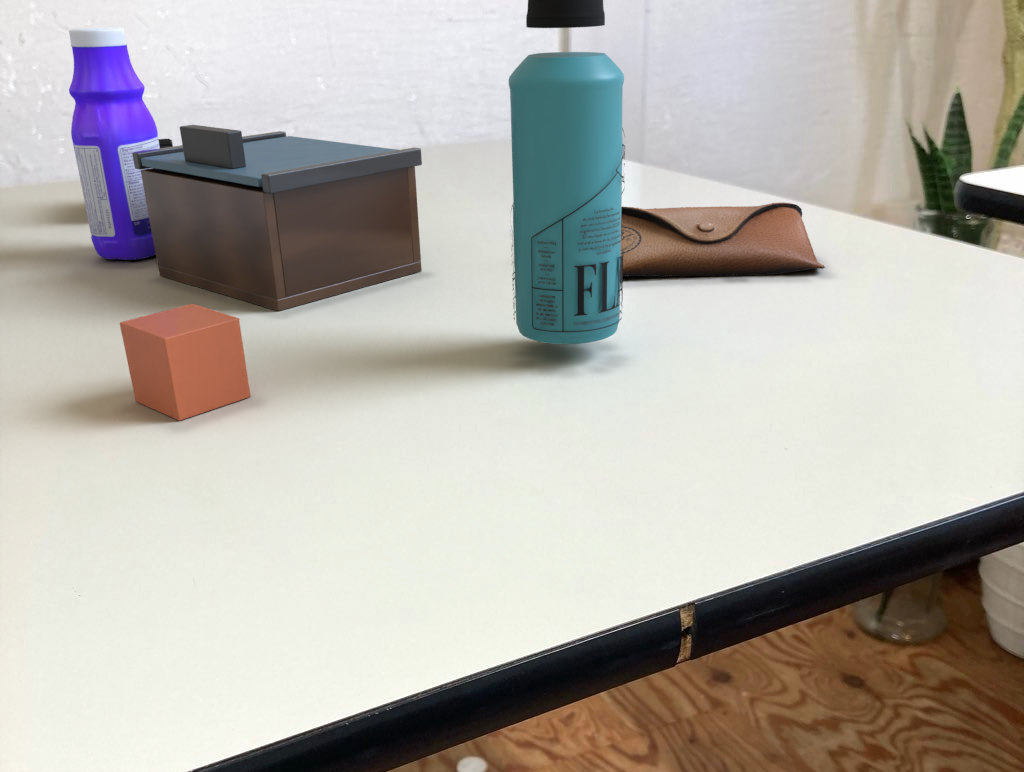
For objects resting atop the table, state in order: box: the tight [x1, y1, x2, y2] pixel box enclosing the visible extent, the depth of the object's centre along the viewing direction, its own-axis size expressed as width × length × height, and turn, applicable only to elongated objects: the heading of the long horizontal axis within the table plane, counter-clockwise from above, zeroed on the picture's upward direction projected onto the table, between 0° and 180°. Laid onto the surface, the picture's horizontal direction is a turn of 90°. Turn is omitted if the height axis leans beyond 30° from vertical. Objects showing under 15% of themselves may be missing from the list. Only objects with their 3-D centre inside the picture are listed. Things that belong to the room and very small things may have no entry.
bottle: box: [68, 27, 160, 261], centre depth 84 cm, size 7×6×17 cm
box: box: [132, 130, 423, 312], centre depth 79 cm, size 17×14×9 cm
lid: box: [141, 124, 398, 187], centre depth 77 cm, size 15×14×3 cm
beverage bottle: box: [508, 0, 626, 345], centre depth 58 cm, size 6×7×20 cm
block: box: [119, 303, 251, 422], centre depth 56 cm, size 4×4×4 cm
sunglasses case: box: [620, 201, 826, 278], centre depth 80 cm, size 18×7×7 cm
